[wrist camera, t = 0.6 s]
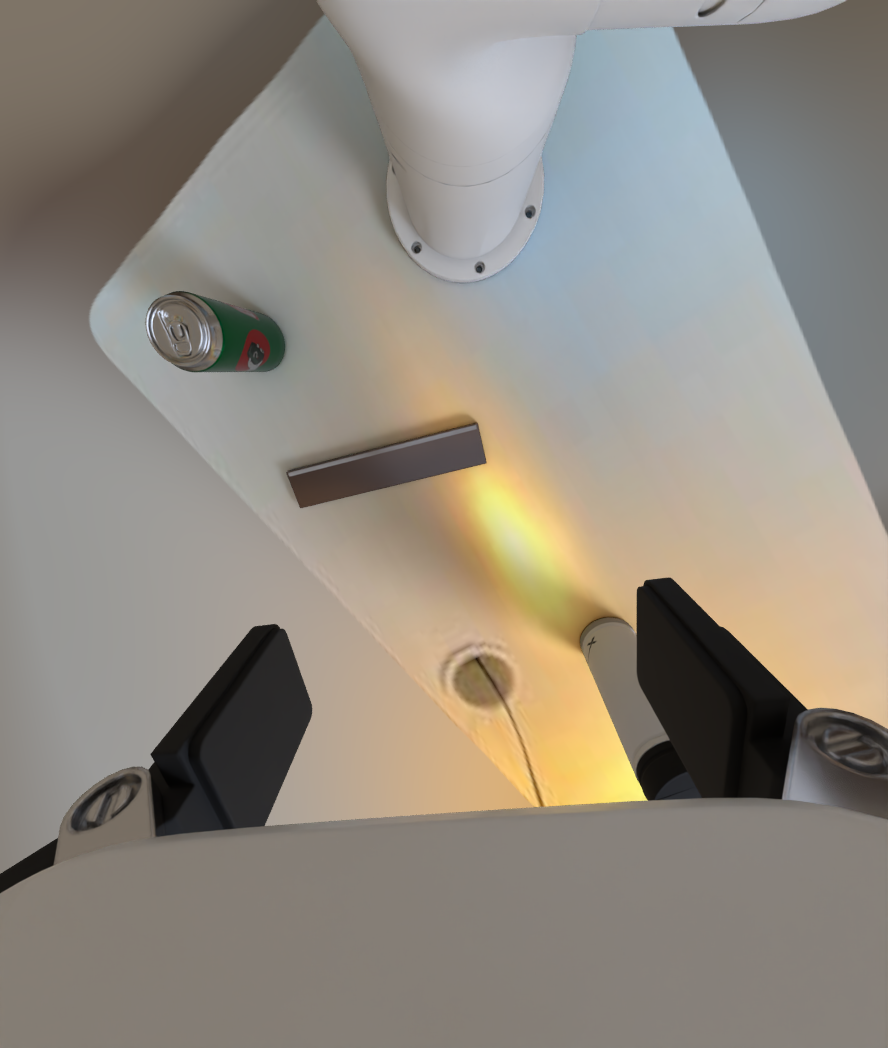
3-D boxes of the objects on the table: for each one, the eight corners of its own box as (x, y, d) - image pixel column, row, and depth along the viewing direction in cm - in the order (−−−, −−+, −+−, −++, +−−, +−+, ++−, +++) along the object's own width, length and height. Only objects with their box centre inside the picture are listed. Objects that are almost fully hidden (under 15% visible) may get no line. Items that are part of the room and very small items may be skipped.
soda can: (280, 309, 37) (202, 283, 26) (293, 368, 39) (225, 367, 28) (227, 316, 38) (127, 293, 26) (242, 374, 39) (154, 376, 28)
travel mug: (568, 630, 48) (636, 796, 29) (623, 608, 47) (731, 767, 28) (588, 669, 50) (664, 849, 31) (641, 649, 48) (754, 824, 30)
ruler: (289, 470, 43) (285, 472, 42) (477, 422, 40) (477, 423, 39) (303, 506, 44) (299, 508, 43) (486, 461, 41) (486, 463, 41)
